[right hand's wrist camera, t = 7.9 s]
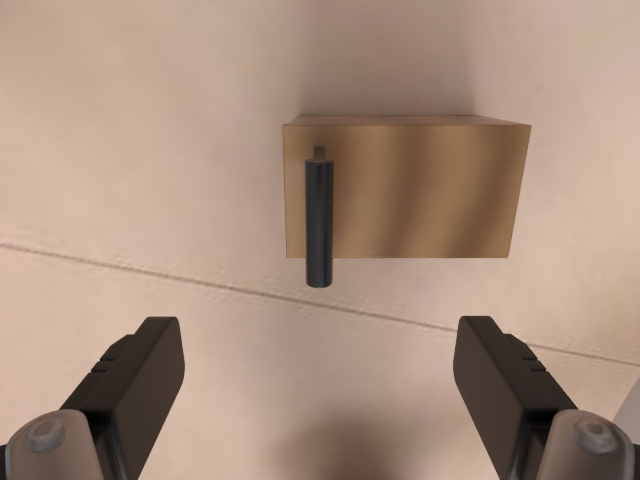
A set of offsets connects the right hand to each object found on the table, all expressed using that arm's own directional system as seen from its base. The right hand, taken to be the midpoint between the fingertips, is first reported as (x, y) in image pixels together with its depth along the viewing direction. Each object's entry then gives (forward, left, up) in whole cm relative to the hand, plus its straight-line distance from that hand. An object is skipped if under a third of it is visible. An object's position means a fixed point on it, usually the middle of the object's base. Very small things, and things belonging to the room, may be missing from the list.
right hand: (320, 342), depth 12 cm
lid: (+1, +5, -18) cm, 19 cm away
